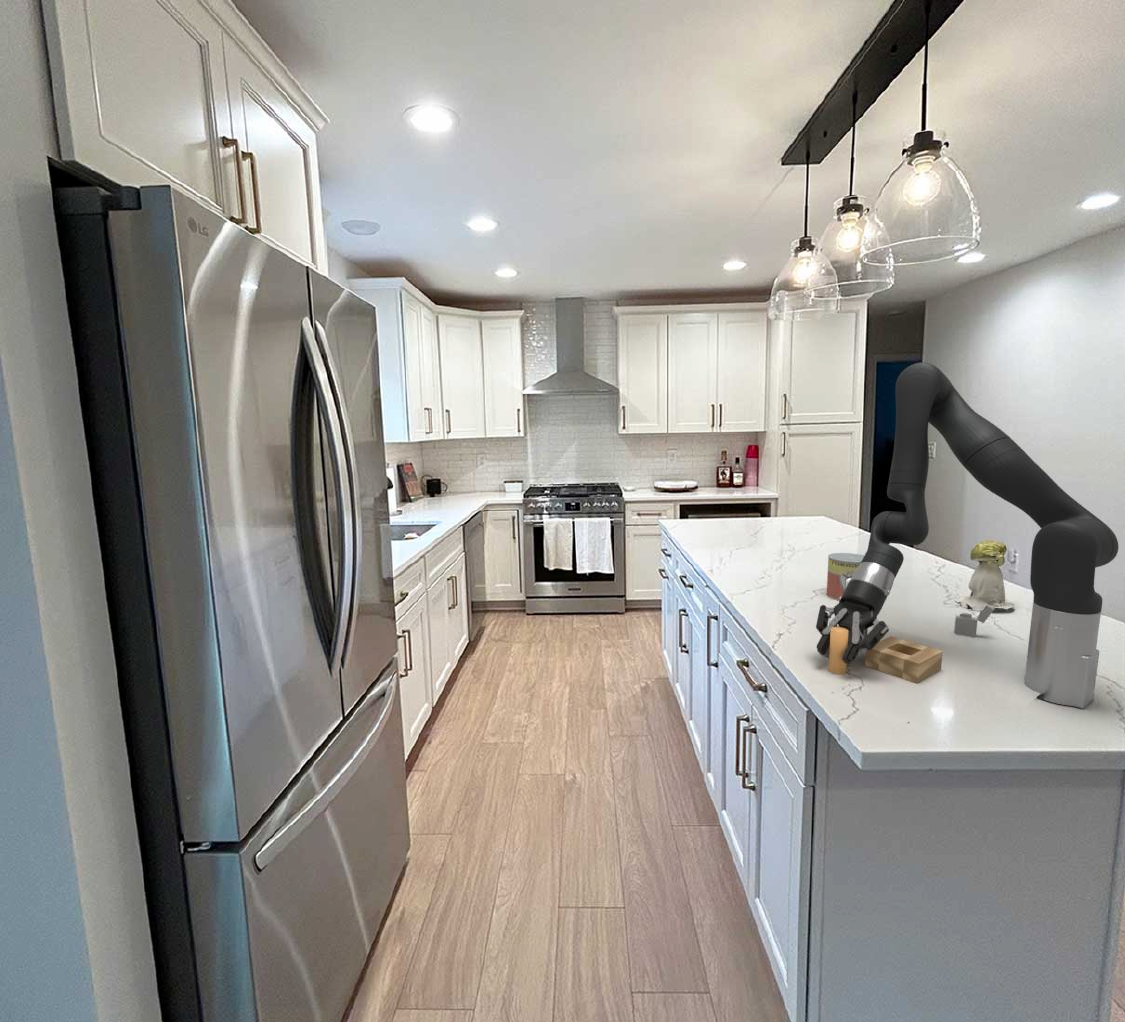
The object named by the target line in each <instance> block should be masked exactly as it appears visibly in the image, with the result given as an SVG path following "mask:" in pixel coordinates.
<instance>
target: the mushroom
mask: <svg viewBox="0 0 1125 1022" xmlns="http://www.w3.org/2000/svg"><path fill="white" fill-rule="evenodd" d="M1007 550H1008V549H1007V545H1006V544H1005V543H1004V542H999V541H994V540H984V541H981V542H979V543H977V544H976V545H975V546H974V547H973V548H972V549H971V552H970V560H971V561H975V562H978V563H979V564H978V565H977V566H976V567H975V570H974V571H973V574H972V575H971V577H970V579H969V582H968V589H969V590H970V591H971V593H970V595H969V596H961V595H959V593H957V594H956V596H957V597H956V598H955V602H956V603H959V604H960V605H961V607H962V608H964V607H965V608H966V609H967V608H969V607H970V608H971V610H973V611H975V612H976V611H977V612H982V610H983V609H984V608H985V607H986V605H987V604H988V605H990V606H992V607H994V609H1004V610H1005V611H1008V610H1009V609H1012V608H1013V609H1014V610H1015V603H1014V602H1010V601H1009V602H1007V601H1006V589H1005V582H1004V573H1003V572H1002V569H1001V568H1000V567H1002V566H1003V565H1004V564H1005V554H1006V552H1007Z"/></svg>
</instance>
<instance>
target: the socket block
mask: <svg viewBox="0 0 1125 1022" xmlns="http://www.w3.org/2000/svg"><path fill="white" fill-rule="evenodd" d="M943 652H944V651H943V650H939V649H937V648H933V647H929V646H926V645H923V644H918V643H916V642H912V641H909V640H905V639H902V638H898V637H896V636H888V637H886V638H883V639H881V640H880V641H879V642H878V643H877V644H876V645H875V646H874V648H873V649H872V650H867V649H866V652H865V666H866V667H869V668H871V669H875V670H877V671H879V672H880V671H881V672H882V673H886V674H890V675H892V676H895V677H898V678H901V679H904V680H905V681H909V682H913V683H916V684H919V683H920V682H922V681H924V680H926V679H928V678H929V677H931V676H933V675H934V674H937V673H938V672H940V671H941V670H942V661H943Z"/></svg>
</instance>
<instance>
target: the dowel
mask: <svg viewBox="0 0 1125 1022" xmlns="http://www.w3.org/2000/svg"><path fill="white" fill-rule="evenodd" d="M847 647H848V630H847V629H845V628H841V627H832V628H831V634H830V652H829V657H828V671H829V672H830V673H831V674H835V675H841V676H842V675H845V674H847V664H846V663H844V661H843V660H842V657H843V655H844V653H845V651H846V649H847Z"/></svg>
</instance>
